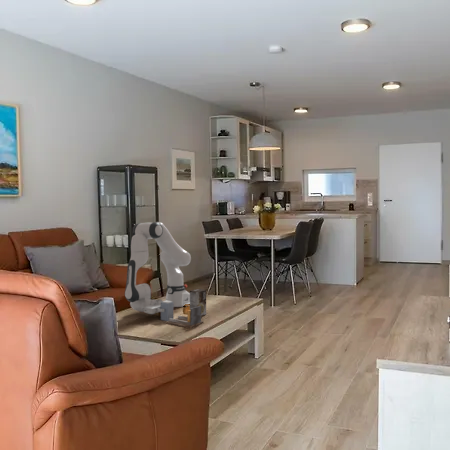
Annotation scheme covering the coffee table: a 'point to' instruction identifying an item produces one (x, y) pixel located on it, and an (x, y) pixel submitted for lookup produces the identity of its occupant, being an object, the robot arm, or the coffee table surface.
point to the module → (167, 310)
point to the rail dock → (184, 320)
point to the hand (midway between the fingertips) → (168, 309)
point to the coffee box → (198, 299)
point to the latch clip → (189, 315)
